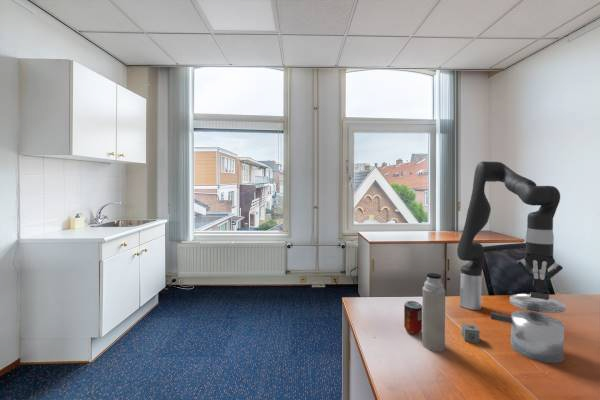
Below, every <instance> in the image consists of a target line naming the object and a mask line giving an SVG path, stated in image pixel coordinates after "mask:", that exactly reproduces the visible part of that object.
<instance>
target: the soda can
mask: <svg viewBox="0 0 600 400" xmlns="http://www.w3.org/2000/svg"><path fill="white" fill-rule="evenodd" d="M403 306H404V310H403V311H404V312H403V313H404V317H403V318H404V319H403V321H404V322H403V323H404V324H403V326H404V329H405V331H407V332H406V333H407V334H409V333H410V334H409V335H412V334H414V335H415V336H418V335H420V334H421V333H422V304H421V303H420V302H417V301H414V300H407V301H406V302H405V303H404V305H403Z"/></svg>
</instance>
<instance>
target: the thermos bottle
mask: <svg viewBox="0 0 600 400" xmlns="http://www.w3.org/2000/svg"><path fill="white" fill-rule="evenodd" d="M426 276H427V278H426V280H425V281H424V284H423V285H424V286H422V304H421V305H422V330H421V344H422V346H423V347H424V348H426V349H427V350H430V351H434V352H442V351H444V350H445V349H446V347H445V346H446V289H445V288H444V287H445V286H444V283H442V279H441V278H442V275H441V274H440V273H439V274H438V273H434V272H429V273H427V274H426Z"/></svg>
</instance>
